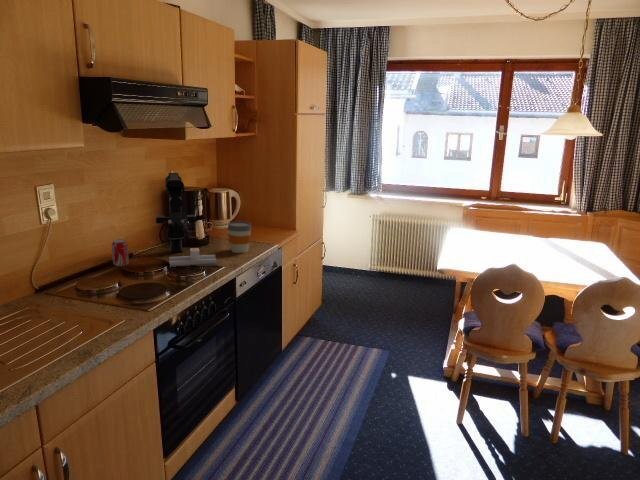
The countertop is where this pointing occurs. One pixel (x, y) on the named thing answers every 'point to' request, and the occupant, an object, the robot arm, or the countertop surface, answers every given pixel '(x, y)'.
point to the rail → (193, 261)
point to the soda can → (120, 252)
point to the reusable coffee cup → (239, 236)
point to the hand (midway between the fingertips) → (176, 235)
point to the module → (194, 254)
